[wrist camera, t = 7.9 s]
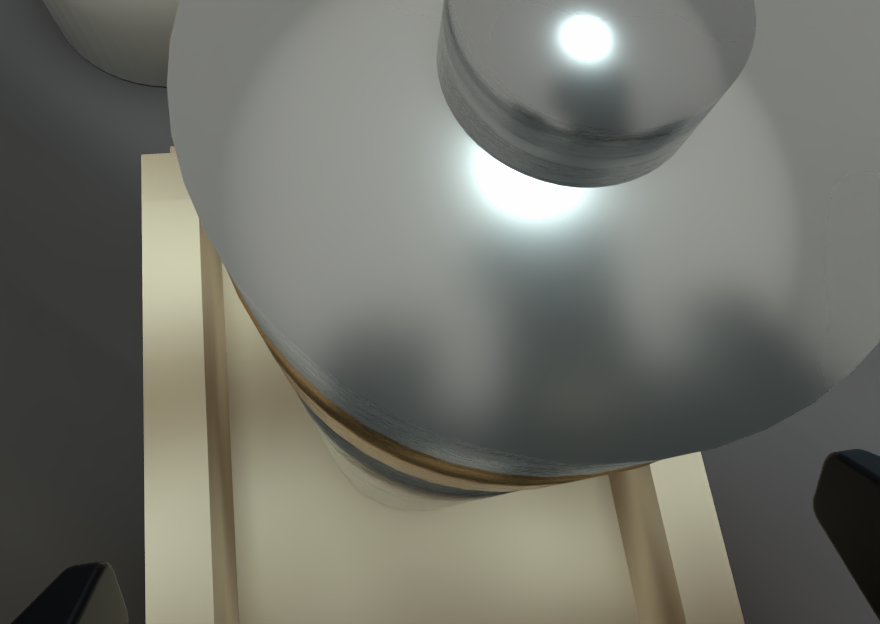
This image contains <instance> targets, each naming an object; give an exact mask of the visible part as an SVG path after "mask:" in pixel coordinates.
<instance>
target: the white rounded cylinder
mask: <svg viewBox="0 0 880 624" xmlns="http://www.w3.org/2000/svg"><path fill="white" fill-rule="evenodd" d="M43 2H44V4H45V5H46V7H47V8H48V10H49V12H50V13H51V15H52V17H53V18H54V20H55V22H56V23H57V25H58V27H59V28H60V30H61V32H62V33H63V35H64V36H65V38H66V39H67V40H68V42H69V43H70V45H71V46H72V47H73V48H74V49H75V50H76V51H77V52H78V53H79V54H80V55H81V56H82V57H84V58H85V59H86V60H87V61H89V62H90V63H91V64H93V65H94V66H96V67H98V68H99V69H101V70H103V71H105V72H107V73H109V74H111V75H114V76H116V77H118V78H121V79H124V80H128V81H131V82H134V83H139V84H145V85H150V86H162V87H167V76H168V61H169V46H170V38H171V34H172V30H173V25H174V21H175V17H176V12H177V8H178V4H179V0H43Z"/></svg>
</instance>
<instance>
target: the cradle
mask: <svg viewBox="0 0 880 624" xmlns="http://www.w3.org/2000/svg"><path fill="white" fill-rule="evenodd" d="M141 168H142V276H143V385H144V493H145V601H146V624H745V623H744V619H743V615H742V611H741V607H740V603H739V600H738V596H737V592H736V588H735V584H734V580H733V576H732V572H731V568H730V565H729V561H728V557H727V553H726V549H725V545H724V541H723V537H722V534H721V530H720V526H719V522H718V518H717V514H716V510H715V506H714V502H713V499H712V495H711V491H710V487H709V483H708V479H707V475H706V471H705V468H704V464H703V460H702V456H701V452H695V453H691V454H686V455H682V456H677V457H672V458H668V459H663V460H660V461H657V462H654V463H652V464H649V465H646V466H643V467H641V468H637V469H632V470H628V471H623V472H618V473H613V474H609V475H604V476H599V477H594V478H589V479H584V480H580V481H575V482H570V483H565V484H560V485H555V486H550V487H545V488H541V489H536V490H523V491H517V492H512V493H508V494H503V495H498V496H494V497H489V498H485V499H480V500H475V501H471V502H466V503H462V504H457V505H453V506H448V507H443V508H439V509H434V510H426V511H409V510H402V509H397V508H392V507H389V506H387V505H384V504H381V503H379V502H377V501H375V500H373V499H371V498H369V497H368V496H366V495H365V494H364V493H362V492H361V491H359V490H358V489H357V488H356V487H355V486H354V485H353V484H352V483H351V482H350V481H349V480H348V479H347V478H346V477H345V475H344V474H343V473H342V472H341V470H340V468H339V467H338V465H337V463H336V462H335V460H334V458H333V457H332V455H331V453H330V451H329V450H328V448H327V446H326V444H325V443H324V441H323V439H322V437H321V435H320V434H319V432H318V430H317V428H316V427H315V425H314V423H313V421H312V420H311V418H310V416H309V414H308V413H307V411H306V409H305V407H304V406H303V404H302V402H301V400H300V398H299V397H298V395H297V393H296V391H295V390H294V388H293V387H292V386H291V385H290V383H289V382H288V380H287V378H286V377H285V375H284V374H283V372H282V370H281V369H280V367H279V365H278V364H277V362H276V360H275V359H274V357H273V356H272V354H271V352H270V350H269V349H268V347H267V345H266V344H265V342H264V340H263V338H262V337H261V335H260V333H259V332H258V330H257V328H256V326H255V325H254V323H253V321H252V320H251V318H250V316H249V314H248V313H247V311H246V309H245V308H244V306H243V304H242V302H241V301H240V299H239V297H238V295H237V293H236V291H235V288H234V286H233V284H232V281H231V279H230V277H229V274H228V272H227V270H226V268H225V266H224V264H223V263H222V261H221V259H220V257H219V256H218V254H217V252H216V250H215V249H214V247H213V245H212V243H211V242H210V240H209V238H208V236H207V234H206V233H205V231H204V229H203V226H202V224H201V222H200V219H199V217H198V215H197V212H196V210H195V208H194V205H193V203H192V201H191V198H190V196H189V194H188V191H187V189H186V187H185V184H184V182H183V178H182V174H181V170H180V166H179V162H178V158H177V154H176V151H175V147H174V146H170V153H163V154H147V155H141Z"/></svg>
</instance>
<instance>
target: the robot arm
mask: <svg viewBox="0 0 880 624" xmlns="http://www.w3.org/2000/svg"><path fill="white" fill-rule="evenodd" d="M813 508H814V512H815V515H816V518H817V520H818V521H819V523H820V525H821V526H822V528H823V529H824V531H825V533H826V534H827V536H828V538H829V539H830V541H831V543H832V544H833V546H834V547H835V549H836V551H837V552H838V554H839V556H840V557H841V559H842V560H843V562H844V564H845V565H846V567H847V569H848V570H849V572H850V574H851V575H852V577H853V578H854V580H855V582H856V583H857V585H858V587H859V588H860V590H861V591H862V593H863V595H864V596H865V598H866V600H867V601H868V603H869V605H870V606H871V608H872V609H873V611H874V612H875V614H876V616H877V617H878V619H879V620H880V456H878V455H875V454H873V453H870V452H868V451H865V450H861V449H852V450H845V451H839V452H833V453H831V454H829V455H828V456H827V457H826V459H825V461H824V463H823V466H822V470H821V473H820V477H819V480H818V483H817V487H816V490H815V494H814V497H813ZM11 624H129V620H128V612H127V608H126V605H125V602H124V599H123V596H122V593H121V590H120V588H119V585H118V582H117V579H116V576H115V573H114V570H113V568H112V566H111V565H110V564H109V563H107V562H103V561H101V562H94V563H88V564H81V565H74V566H71V567H69V568H67V569H66V570H65V571H63V572H62V573H61V574H60V575H59V576H58V577H57V578H56V579H55V580H54V581H53V582H52V583H51V584H50V585H49V586H48V587H47V588H46V589H45V590H44V591H43V592H42V593H41V594H40V595H39V596H38V597H37V598H36V599H35V600H34V601H33V602H32V603H31V604H30V605H29V606H28V607H27V608H26V609H25V610H24V611H23V612H22V613H21V614H20V615H19V616H18V617H17V618H16V619H15V620H14V621H13V622H12V623H11Z"/></svg>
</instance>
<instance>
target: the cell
mask: <svg viewBox="0 0 880 624" xmlns="http://www.w3.org/2000/svg"><path fill="white" fill-rule="evenodd" d="M167 94H168V105H169V115H170V126H171V135H172V139H173V143H174V147H175V151H176V154H177V158H178V162H179V166H180V170H181V174H182V178H183V182H184V184H185V187H186V189H187V191H188V194H189V196H190V198H191V201H192V203H193V205H194V208H195V210H196V212H197V215H198V217H199V219H200V222H201V224H202V226H203V229H204V231H205V233H206V234H207V236H208V238H209V240H210V242H211V243H212V245H213V247H214V249H215V250H216V252H217V254H218V256H219V257H220V259H221V261H222V263H223V264H224V266H225V268H226V270H227V272H228V274H229V277H230V279H231V281H232V284H233V286H234V288H235V291H236V293H237V295H238V297H239V299H240V301H241V302H242V304H243V306H244V308H245V309H246V311H247V313H248V314H249V316H250V318H251V320H252V321H253V323H254V325H255V326H256V328H257V330H258V332H259V333H260V335H261V337H262V338H263V340H264V342H265V344H266V345H267V347H268V349H269V350H270V352H271V354H272V356H273V357H274V359H275V360H276V362H277V364H278V365H279V367H280V369H281V370H282V372H283V374H284V375H285V377H286V378H287V380H288V382H289V383H290V385H291V386H292V387H293V388H294V390H295V391H296V393H297V395H298V397H299V398H300V400H301V402H302V404H303V406H304V407H305V409H306V411H307V413H308V414H309V416H310V418H311V420H312V421H313V423H314V425H315V427H316V428H317V430H318V432H319V434H320V435H321V437H322V439H323V441H324V443H325V444H326V446H327V448H328V450H329V451H330V453H331V455H332V457H333V458H334V460H335V462H336V463H337V465H338V467H339V468H340V470H341V472H342V473H343V474H344V475H345V477H346V478H347V479H348V480H349V481H350V482H351V483H352V484H353V485H354V486H355V487H356V488H357V489H358V490H359V491H361V492H362V493H364V494H365V495H366V496H368V497H369V498H371V499H373V500H375V501H377V502H379V503H381V504H384V505H387V506H389V507H392V508H397V509H402V510H409V511H426V510H434V509H439V508H443V507H448V506H453V505H457V504H462V503H466V502H471V501H475V500H480V499H485V498H489V497H494V496H498V495H503V494H508V493H512V492H517V491H523V490H536V489H541V488H545V487H550V486H555V485H560V484H565V483H570V482H575V481H580V480H584V479H589V478H594V477H599V476H604V475H609V474H613V473H618V472H623V471H628V470H632V469H637V468H641V467H643V466H646V465H649V464H652V463H654V462H657V461H660V460H663V459H668V458H672V457H677V456H682V455H686V454H691V453H695V452H700V451H705V450H709V449H714V448H717V447H720V446H722V445H725V444H728V443H731V442H733V441H736V440H739V439H741V438H744V437H747V436H750V435H752V434H755V433H758V432H760V431H763V430H766V429H768V428H770V427H771V426H773V425H775V424H777V423H779V422H780V421H782V420H784V419H786V418H788V417H789V416H791V415H793V414H795V413H796V412H798V411H800V410H802V409H804V408H805V407H807V406H809V405H811V404H812V403H814V402H815V401H816V400H817V399H819V398H820V397H821V396H823V395H824V394H825V393H826V392H828V391H829V390H830V389H831V388H833V387H834V386H835V385H836V384H838V383H839V382H840V381H842V380H843V379H844V378H845V377H847V376H848V375H849V374H850V373H851V372H852V371H853V370H854V369H855V368H856V367H857V366H858V365H859V364H860V362H861V361H862V360H863V359H864V358H865V357H866V356H867V355H868V354H869V353H870V351H871V350H872V349H873V348H874V347H875V346H876V345H877V344H878V343H879V342H880V0H179V4H178V8H177V12H176V17H175V21H174V25H173V30H172V34H171V38H170V46H169V61H168V76H167Z"/></svg>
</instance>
